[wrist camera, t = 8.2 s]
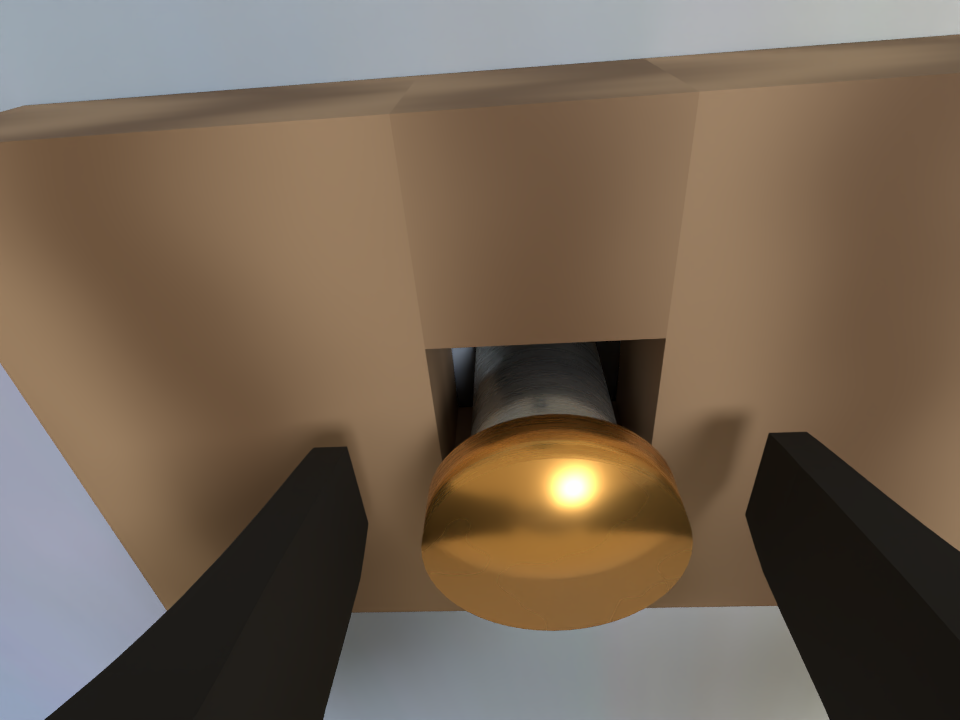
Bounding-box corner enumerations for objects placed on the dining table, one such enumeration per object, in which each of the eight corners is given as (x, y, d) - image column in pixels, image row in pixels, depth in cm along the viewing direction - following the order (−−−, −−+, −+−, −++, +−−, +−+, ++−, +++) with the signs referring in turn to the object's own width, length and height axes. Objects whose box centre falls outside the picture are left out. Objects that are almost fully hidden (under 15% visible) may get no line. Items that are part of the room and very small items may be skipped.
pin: (650, 293, 13) (741, 486, 8) (592, 432, 16) (636, 644, 11) (465, 257, 13) (444, 436, 8) (435, 405, 15) (405, 612, 10)
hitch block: (1099, 23, 10) (1346, 45, 7) (877, 493, 17) (956, 603, 14) (23, 105, 11) (-142, 152, 8) (222, 511, 18) (170, 615, 15)
